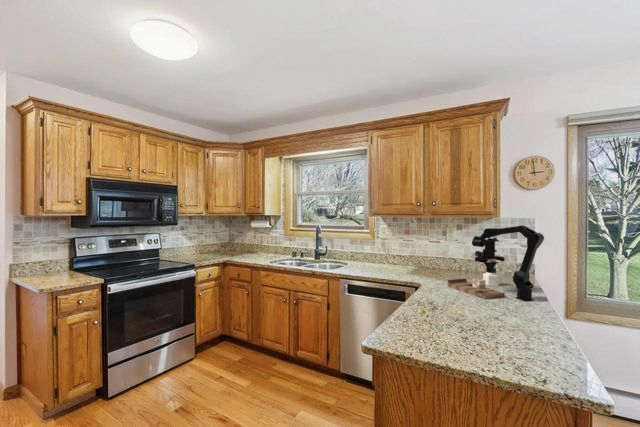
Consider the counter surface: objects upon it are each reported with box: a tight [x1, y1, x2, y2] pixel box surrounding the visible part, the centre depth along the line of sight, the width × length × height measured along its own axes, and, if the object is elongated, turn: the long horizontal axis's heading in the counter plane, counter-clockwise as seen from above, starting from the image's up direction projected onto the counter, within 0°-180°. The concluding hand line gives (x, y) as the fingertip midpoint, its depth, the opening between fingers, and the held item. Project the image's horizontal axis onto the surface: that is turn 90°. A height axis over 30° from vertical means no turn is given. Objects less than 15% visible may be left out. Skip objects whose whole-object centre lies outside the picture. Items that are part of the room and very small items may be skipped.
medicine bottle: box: [482, 267, 500, 287], centre depth 206 cm, size 7×7×12 cm
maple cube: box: [472, 278, 486, 289], centre depth 189 cm, size 5×5×5 cm
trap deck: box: [447, 278, 506, 300], centre depth 188 cm, size 30×15×4 cm, turn 18°
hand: (489, 272), depth 189 cm, fingers closed
